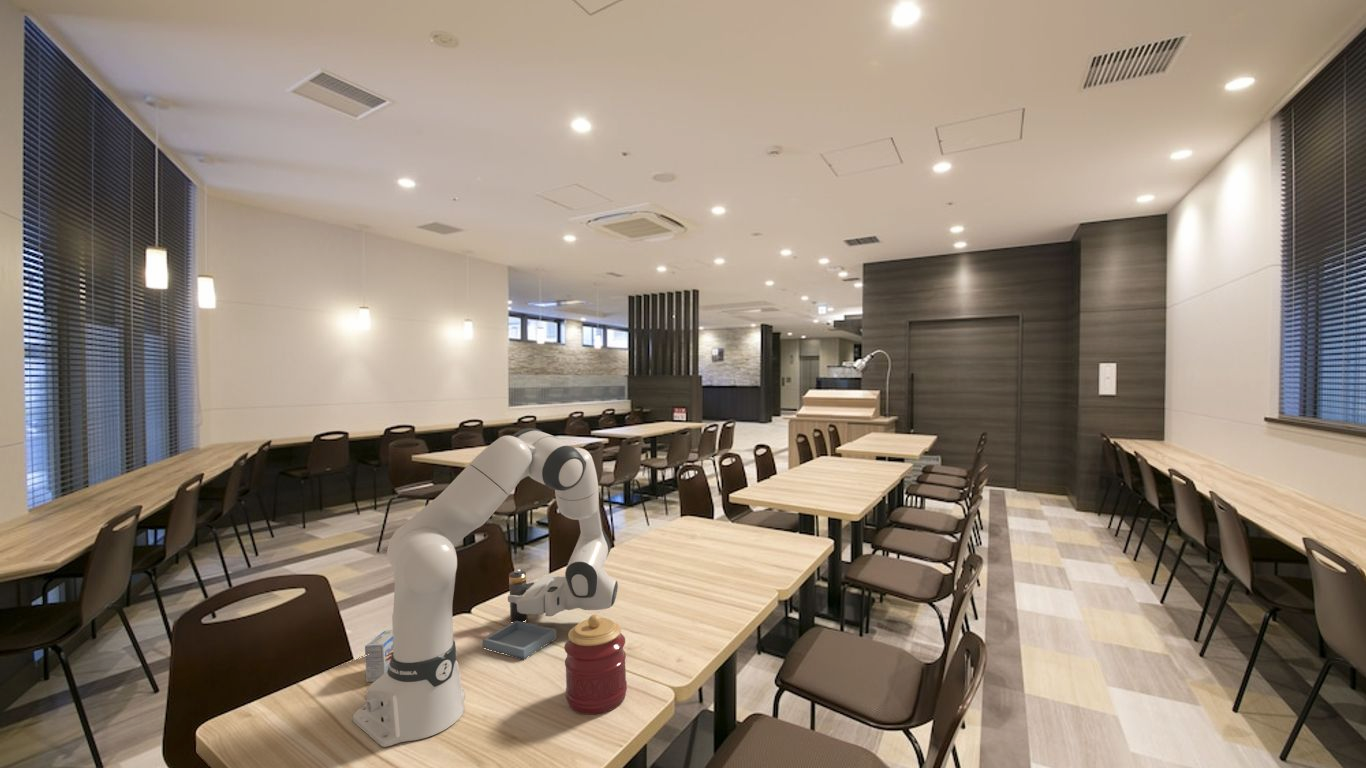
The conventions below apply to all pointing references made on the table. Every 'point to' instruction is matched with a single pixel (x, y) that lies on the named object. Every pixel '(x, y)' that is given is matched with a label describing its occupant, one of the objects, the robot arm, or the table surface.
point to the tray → (519, 639)
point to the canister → (595, 666)
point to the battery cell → (517, 593)
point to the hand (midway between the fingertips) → (515, 592)
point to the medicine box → (378, 655)
